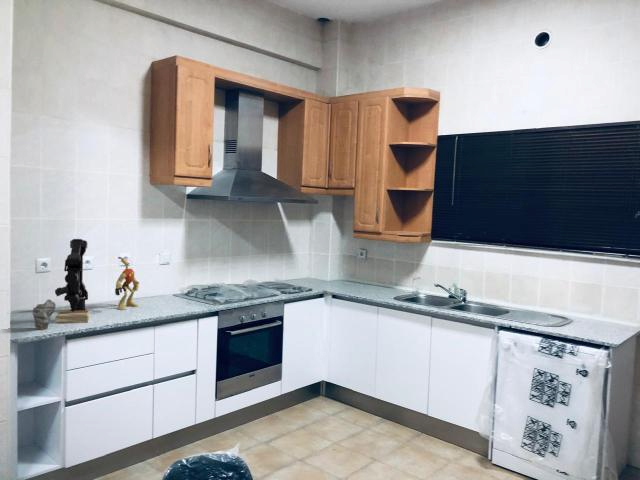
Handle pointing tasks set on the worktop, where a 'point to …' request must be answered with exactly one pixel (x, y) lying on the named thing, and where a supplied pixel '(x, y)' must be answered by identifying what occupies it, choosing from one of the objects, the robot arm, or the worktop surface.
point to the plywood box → (72, 317)
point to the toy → (126, 286)
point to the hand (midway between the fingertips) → (73, 311)
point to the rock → (43, 314)
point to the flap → (71, 311)
